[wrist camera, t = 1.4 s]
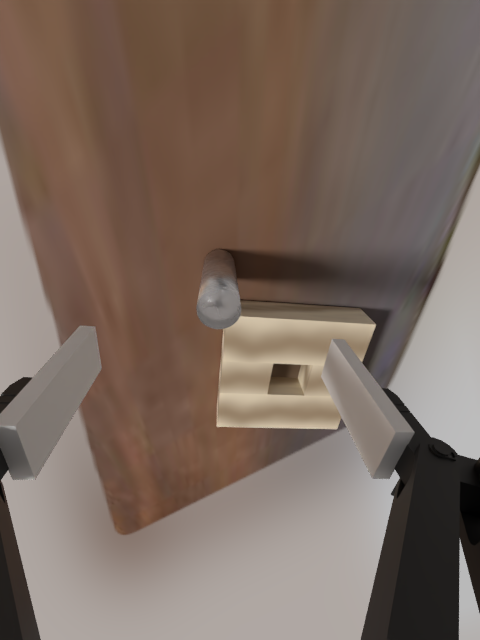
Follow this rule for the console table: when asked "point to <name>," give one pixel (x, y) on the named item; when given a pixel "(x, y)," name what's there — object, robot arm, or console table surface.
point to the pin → (219, 291)
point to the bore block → (284, 364)
